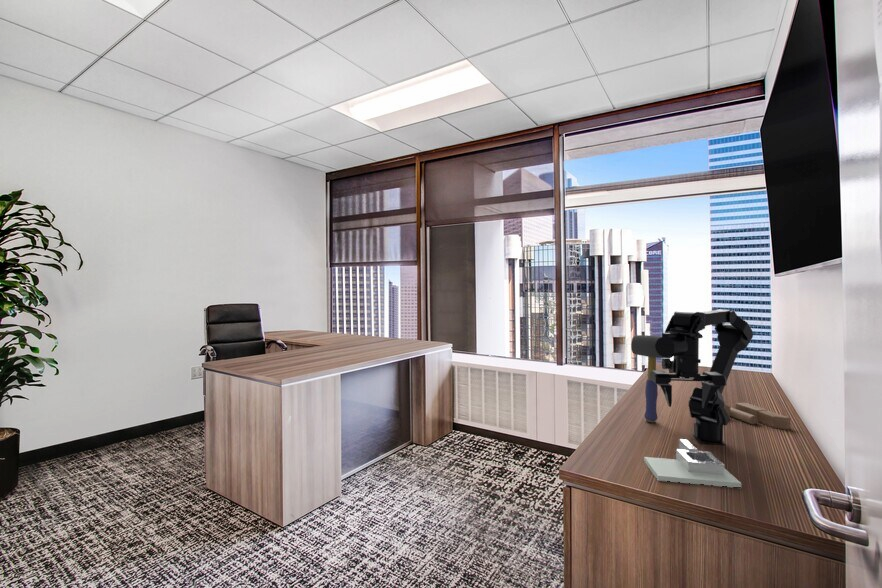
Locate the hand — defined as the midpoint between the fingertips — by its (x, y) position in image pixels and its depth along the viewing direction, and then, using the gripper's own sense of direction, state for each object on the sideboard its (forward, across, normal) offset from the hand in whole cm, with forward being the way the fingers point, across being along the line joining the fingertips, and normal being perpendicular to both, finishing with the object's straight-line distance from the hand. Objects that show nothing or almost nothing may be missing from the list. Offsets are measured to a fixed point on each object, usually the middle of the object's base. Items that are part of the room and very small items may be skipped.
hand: (686, 407), depth 119 cm
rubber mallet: (+12, +2, -22) cm, 25 cm away
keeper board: (+12, +7, +18) cm, 23 cm away
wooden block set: (+13, -30, -28) cm, 44 cm away
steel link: (+10, +3, +13) cm, 17 cm away
